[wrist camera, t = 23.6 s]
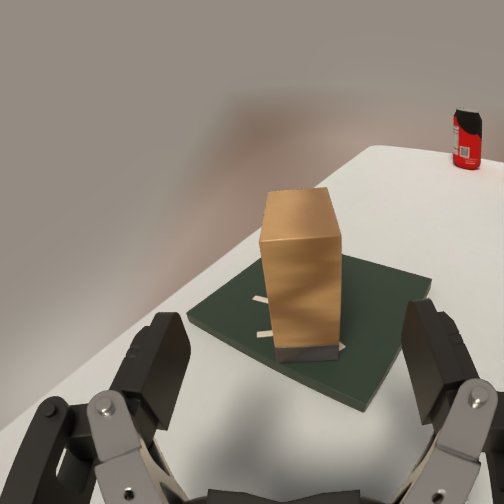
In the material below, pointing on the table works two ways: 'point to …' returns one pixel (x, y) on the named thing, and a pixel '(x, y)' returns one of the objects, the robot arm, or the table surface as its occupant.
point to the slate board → (351, 327)
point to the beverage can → (467, 138)
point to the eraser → (302, 274)
